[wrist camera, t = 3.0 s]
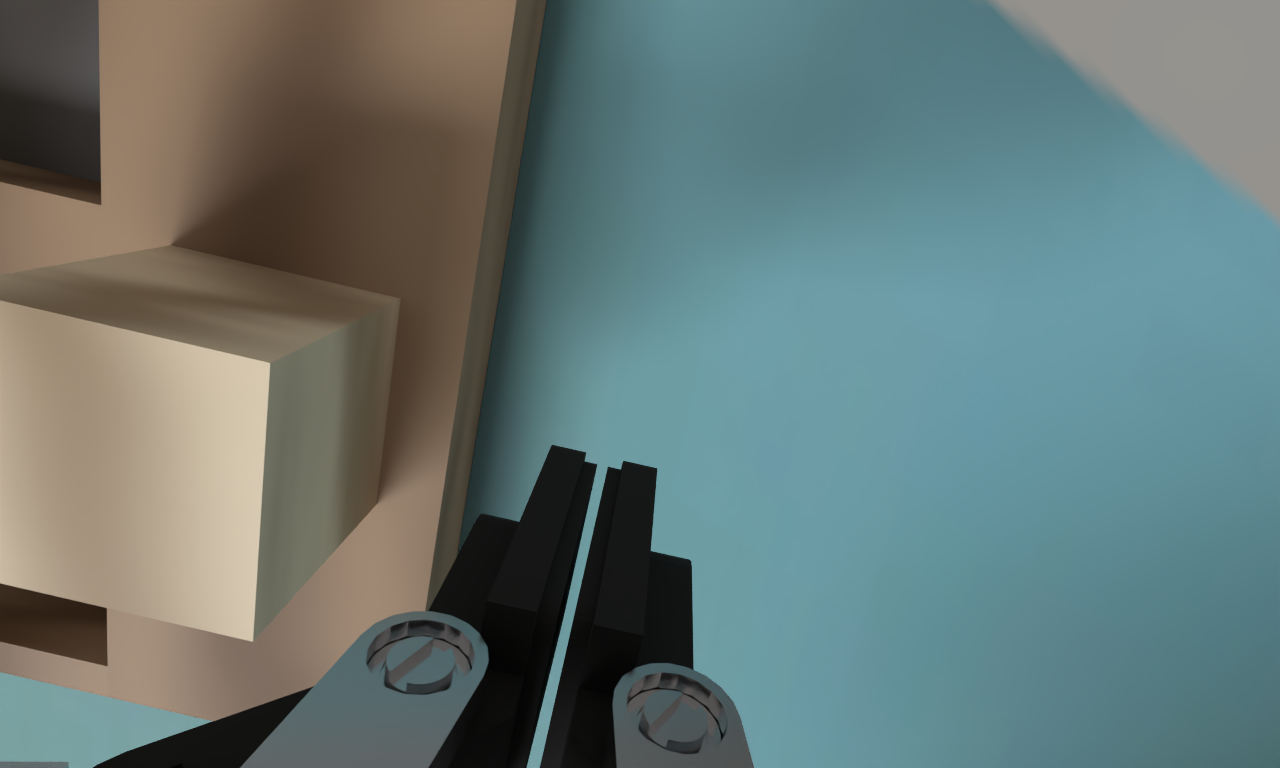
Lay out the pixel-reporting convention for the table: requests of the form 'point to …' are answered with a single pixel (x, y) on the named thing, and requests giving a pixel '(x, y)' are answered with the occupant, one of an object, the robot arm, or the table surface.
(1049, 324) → the table surface
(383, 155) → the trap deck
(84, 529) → the maple block
